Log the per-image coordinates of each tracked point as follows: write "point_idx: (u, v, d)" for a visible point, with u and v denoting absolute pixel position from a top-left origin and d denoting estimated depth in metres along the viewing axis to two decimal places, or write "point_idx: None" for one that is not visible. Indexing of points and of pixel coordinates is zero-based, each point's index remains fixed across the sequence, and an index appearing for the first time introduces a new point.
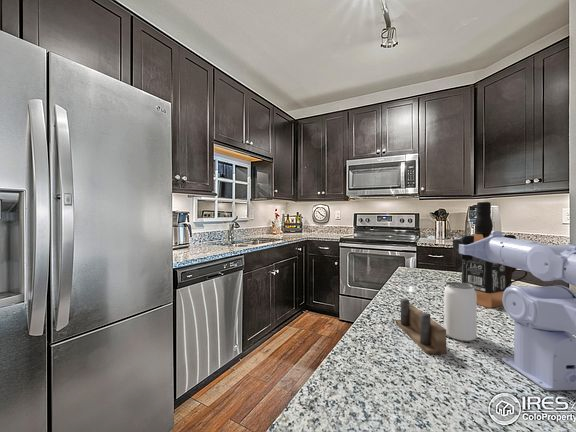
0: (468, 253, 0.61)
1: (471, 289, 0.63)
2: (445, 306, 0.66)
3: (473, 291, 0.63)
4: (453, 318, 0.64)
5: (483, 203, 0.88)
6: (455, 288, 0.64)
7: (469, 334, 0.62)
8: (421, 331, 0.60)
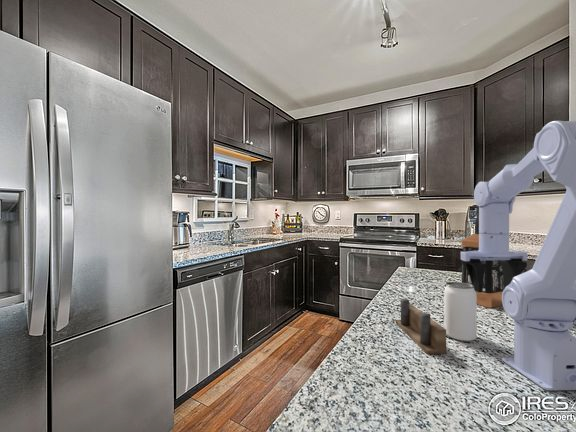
0: None
1: (471, 289, 0.63)
2: (445, 306, 0.66)
3: (473, 291, 0.63)
4: (453, 318, 0.64)
5: None
6: (455, 288, 0.64)
7: (469, 334, 0.62)
8: (421, 331, 0.60)
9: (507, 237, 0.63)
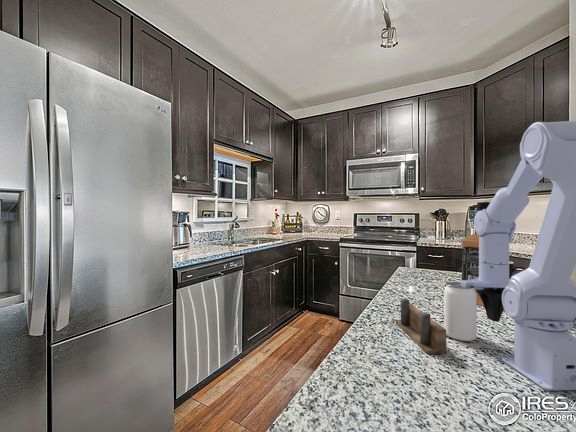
0: None
1: (471, 289, 0.63)
2: (445, 306, 0.66)
3: (473, 291, 0.63)
4: (453, 318, 0.64)
5: (483, 203, 0.88)
6: (455, 288, 0.64)
7: (469, 334, 0.62)
8: (421, 331, 0.60)
9: (507, 267, 0.63)
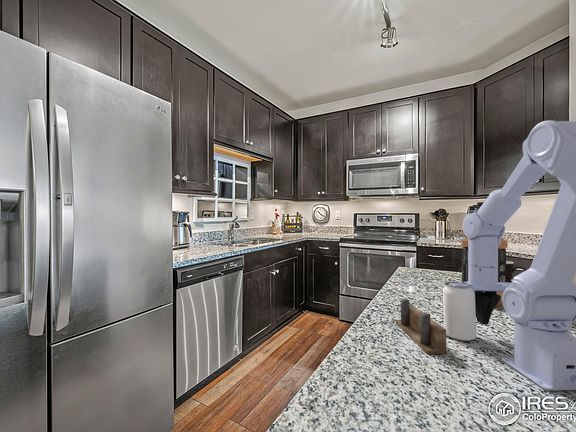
0: None
1: (469, 288, 0.63)
2: (444, 306, 0.66)
3: (471, 290, 0.63)
4: (452, 318, 0.64)
5: None
6: (453, 288, 0.64)
7: (469, 334, 0.62)
8: (421, 331, 0.60)
9: (496, 270, 0.63)
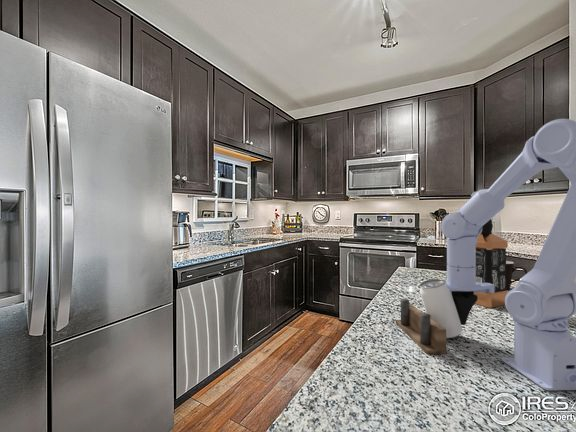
0: None
1: (442, 286, 0.63)
2: (425, 307, 0.66)
3: (445, 287, 0.63)
4: (434, 318, 0.64)
5: None
6: (427, 289, 0.64)
7: (454, 330, 0.62)
8: (421, 331, 0.60)
9: (473, 271, 0.63)
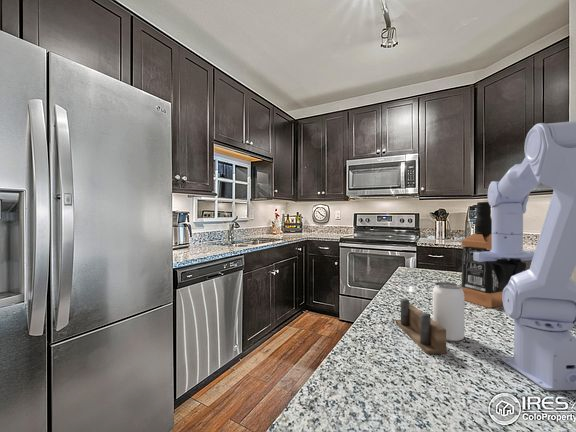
0: None
1: (459, 289, 0.63)
2: (433, 306, 0.66)
3: (461, 291, 0.63)
4: (441, 318, 0.64)
5: (483, 203, 0.88)
6: (443, 288, 0.64)
7: (457, 334, 0.62)
8: (421, 331, 0.60)
9: (521, 237, 0.62)
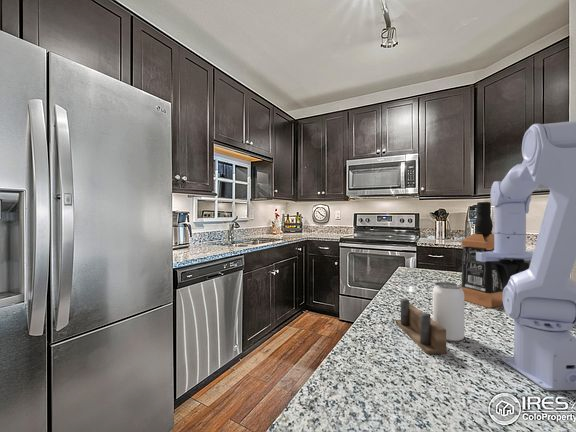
0: None
1: (458, 289, 0.63)
2: (433, 306, 0.66)
3: (461, 291, 0.63)
4: (441, 318, 0.64)
5: (483, 203, 0.88)
6: (443, 288, 0.64)
7: (457, 334, 0.62)
8: (421, 331, 0.60)
9: (524, 237, 0.62)
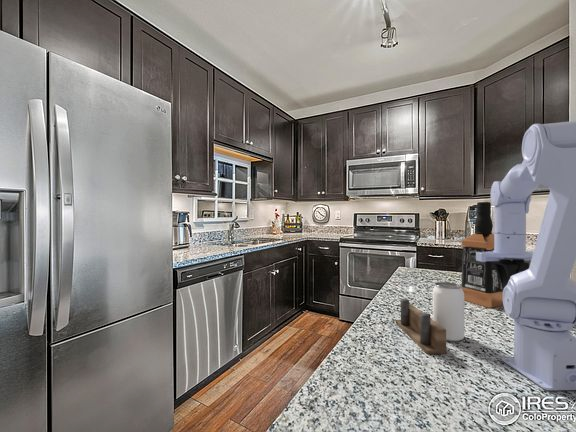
0: None
1: (458, 289, 0.63)
2: (433, 306, 0.66)
3: (461, 291, 0.63)
4: (441, 318, 0.64)
5: (483, 203, 0.88)
6: (443, 288, 0.64)
7: (457, 334, 0.62)
8: (421, 331, 0.60)
9: (524, 237, 0.62)
